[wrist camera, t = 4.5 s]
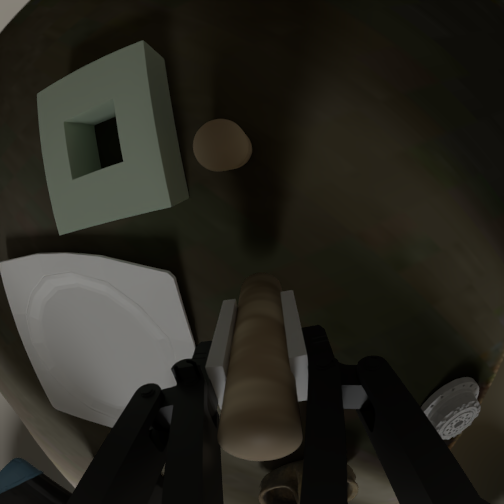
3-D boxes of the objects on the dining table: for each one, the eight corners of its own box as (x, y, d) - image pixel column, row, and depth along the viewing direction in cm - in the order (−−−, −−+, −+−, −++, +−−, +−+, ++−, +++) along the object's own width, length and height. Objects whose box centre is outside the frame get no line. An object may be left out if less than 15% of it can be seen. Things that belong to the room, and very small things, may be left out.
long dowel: (245, 312, 22) (228, 462, 9) (236, 276, 21) (207, 418, 8) (284, 306, 21) (305, 456, 9) (278, 269, 21) (298, 409, 8)
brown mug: (264, 488, 36) (262, 537, 26) (250, 433, 30) (245, 501, 21) (347, 479, 34) (355, 527, 25) (362, 421, 29) (380, 485, 20)
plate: (5, 245, 25) (-9, 252, 23) (194, 249, 24) (186, 259, 21) (59, 400, 32) (51, 411, 30) (213, 435, 31) (210, 451, 29)
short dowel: (216, 172, 22) (198, 176, 16) (209, 134, 21) (188, 125, 15) (255, 164, 21) (251, 165, 16) (248, 126, 20) (241, 113, 15)
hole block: (88, 222, 23) (59, 235, 19) (67, 99, 20) (36, 93, 15) (189, 197, 22) (171, 206, 18) (164, 58, 19) (143, 40, 14)
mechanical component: (478, 363, 27) (415, 396, 28) (494, 383, 22) (427, 420, 24) (469, 407, 29) (413, 435, 31) (481, 425, 25) (422, 456, 27)
